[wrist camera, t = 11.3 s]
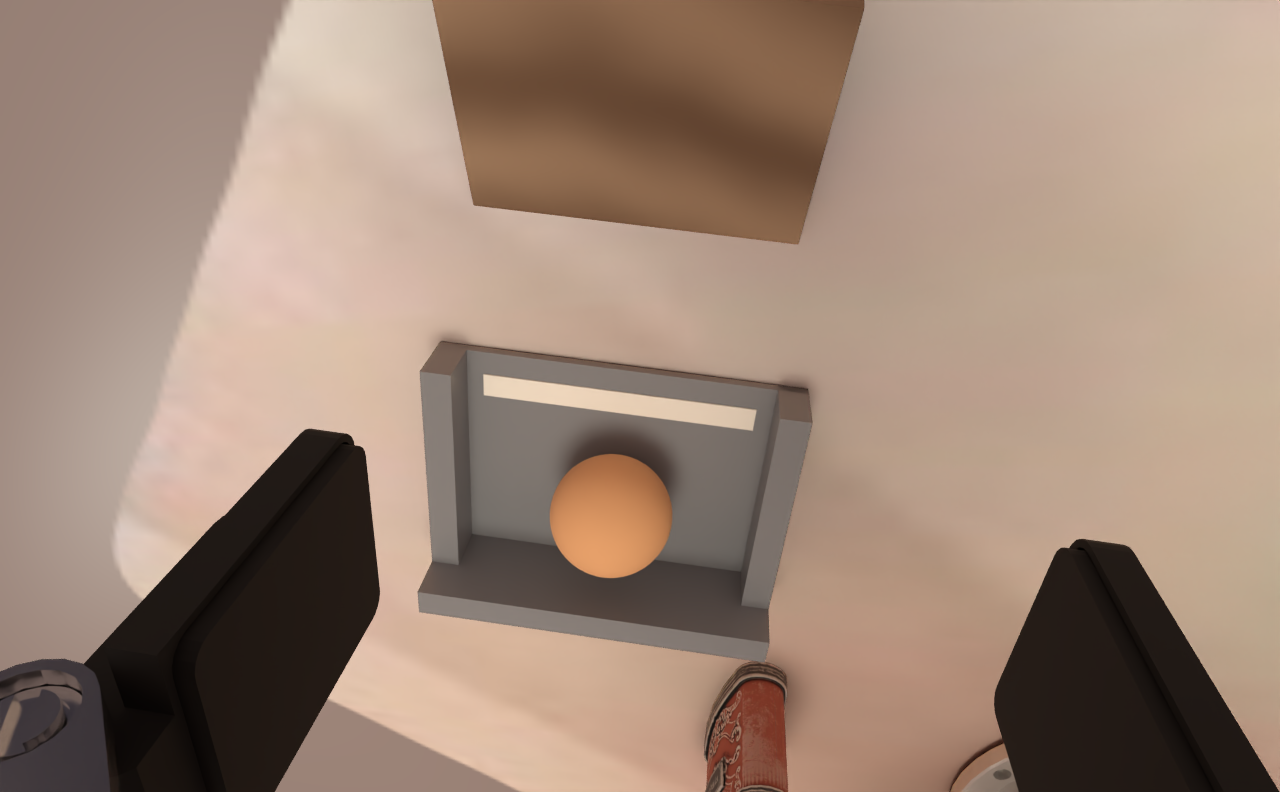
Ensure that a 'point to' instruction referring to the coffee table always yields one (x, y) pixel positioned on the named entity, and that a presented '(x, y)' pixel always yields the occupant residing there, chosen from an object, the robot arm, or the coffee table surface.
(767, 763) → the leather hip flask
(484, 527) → the box
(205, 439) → the coffee table surface
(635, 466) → the ball
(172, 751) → the robot arm
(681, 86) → the ramp
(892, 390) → the coffee table surface
